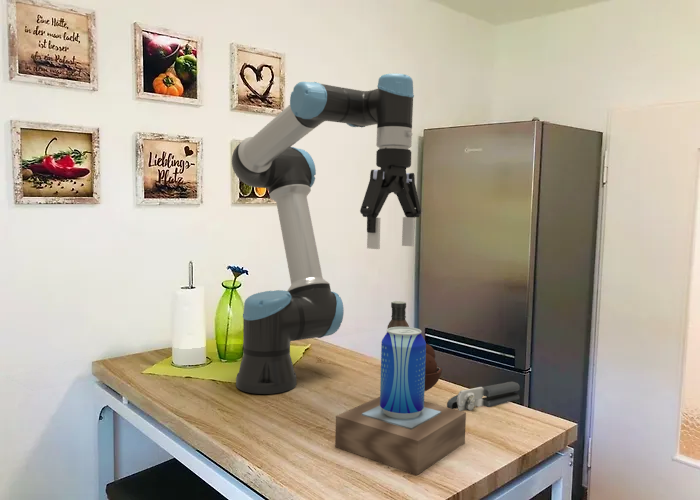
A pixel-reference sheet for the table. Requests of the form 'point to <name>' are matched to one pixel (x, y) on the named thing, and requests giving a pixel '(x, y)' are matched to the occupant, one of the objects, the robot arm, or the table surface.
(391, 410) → the beer can
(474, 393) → the can opener
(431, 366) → the ice cream bowl
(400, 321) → the sauce bottle
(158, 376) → the table surface
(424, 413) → the walnut plinth
